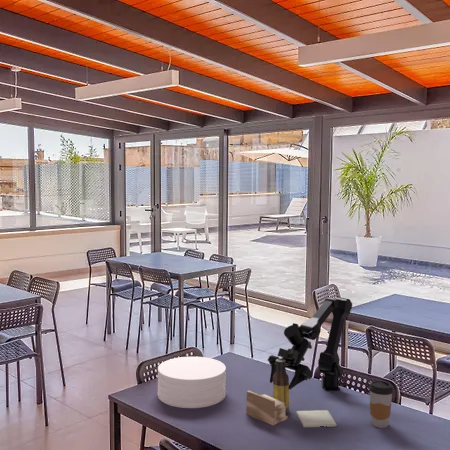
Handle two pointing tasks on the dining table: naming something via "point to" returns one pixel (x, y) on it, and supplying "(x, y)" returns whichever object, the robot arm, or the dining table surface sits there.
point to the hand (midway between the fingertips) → (279, 385)
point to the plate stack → (191, 382)
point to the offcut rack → (265, 408)
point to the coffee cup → (380, 403)
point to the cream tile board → (316, 418)
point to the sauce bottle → (281, 383)
